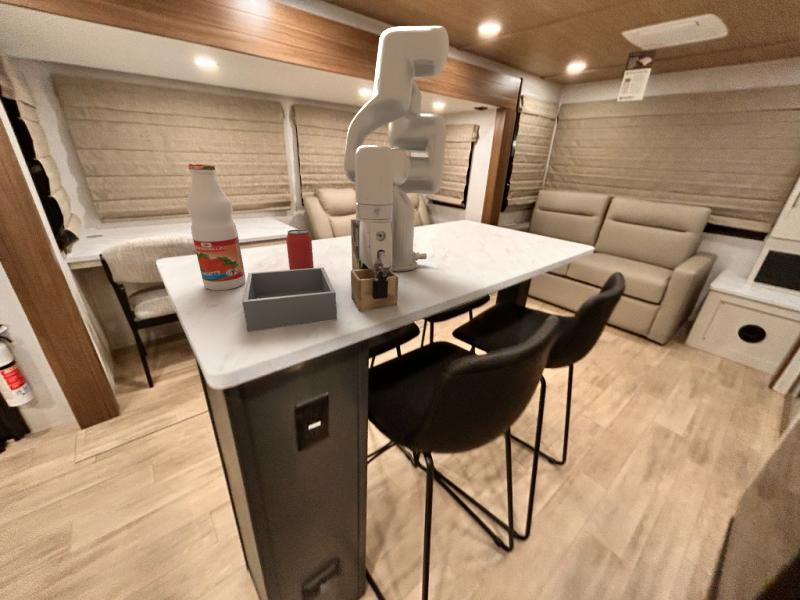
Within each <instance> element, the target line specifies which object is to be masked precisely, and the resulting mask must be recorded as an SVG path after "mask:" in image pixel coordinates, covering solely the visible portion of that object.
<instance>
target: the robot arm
mask: <svg viewBox="0 0 800 600" xmlns="http://www.w3.org/2000/svg"><path fill="white" fill-rule="evenodd" d="M379 36H380V37H379V41H378V49H377V55H376V65H375V71H374V72H375V73H374V81H373V89H372V96H371V98H370V99H369V100H368V101H367V102H366V103H365V104H364V105H363V106H362V107H361V108H360V110H358V112H357V113H356V115H354V117H353V118H352V120H351V122H350V124H349V126H348V129H347V133H346V137H345V145H344V153H343V171H344V174H345V176H346V178H347V179H348V181H349V182H351V183H353V184H355V220H358V221H360V237H359V249H360V258H361V260H362V261H361V270H362V269H371V270H373V275H374V281H373V298H374V299H380V298H387V296H388V275H389V272H388V271H389V269H390V270H391V271H393V272H408V271H412V270H415V269H417V266H418V262H417V261H419V260H427V257H428V255H427V253H426V252H421V253H420V252H419V251H418V252H416V251H414V235H415V234H414V233H415V219H416V218H415V217H416V210H415V205H414V204H413V201H412V200H411V199H410V197H409V196H408V194H418V195H419V194H422V195H435V194H437V193H438V192H439V191H440V189H441V186H442V182H443V177H444V176H443V175H444V165H445V153H446V152H445V150H446V149H445V148H446V142H447V141H446V140H447V128H446V127H447V125H446V122H445V121H446V120H445V119H444V116H442V115H440V114H437V113H424V112H423V113H422V112H421V109H422V92H421V89H420V88H419V86H418V84H417V83H416V81H415V80H414V78H435V77H438V76H439V75H441V73H442V72H443V70H444V68H445V66H446V63H447V60H448V56H449V52H450V51H449V49H450V41H449V34H448V31H447V29H446V27H444V26H443V25H420V26H419V25H418V26H417V25H416V26H415V25H413V26H412V25H411V26H410V25H408V26H407V25H406V26H395V27H394V26H393V27H390V28H387V29H386V30H384V31H382V33H381V35H379ZM386 125H388V127H387V142H388V146H384V145H378V144H377V145H376V144H375V145H372V144H367V145H365V144H364V143H365V141H366V140H367V138H368V137H369V136H370V135H371V134H372V133H374V132H375V131H377V130H378V129H381V128H382V127H385V126H386ZM408 153H413V154H414V153H416V154H417V153H418V154H419V153H420V154H426V156H413V155H412V156H408ZM378 265H381V266H378ZM377 271H379V273H378V275H377Z"/></svg>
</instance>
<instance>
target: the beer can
mask: <svg viewBox="0 0 800 600" xmlns="http://www.w3.org/2000/svg"><path fill="white" fill-rule="evenodd" d="M285 239H286V240H285V241H286V248H287V249H286V250H287V259H288V267H289V269H288V270H294V269H308V268H315V267H314V266H315V265H314V256H313V255H314V253H313V243H312V242H313V240H312V237H311V234H310V231H309V230H307V229H302V228H301V229H296V228H295V229H289V230H287V235H286V238H285Z"/></svg>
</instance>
